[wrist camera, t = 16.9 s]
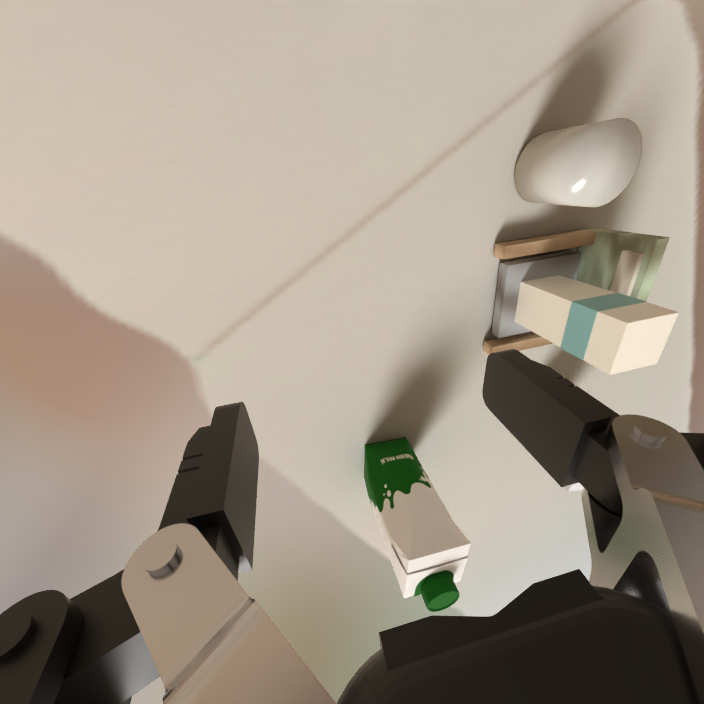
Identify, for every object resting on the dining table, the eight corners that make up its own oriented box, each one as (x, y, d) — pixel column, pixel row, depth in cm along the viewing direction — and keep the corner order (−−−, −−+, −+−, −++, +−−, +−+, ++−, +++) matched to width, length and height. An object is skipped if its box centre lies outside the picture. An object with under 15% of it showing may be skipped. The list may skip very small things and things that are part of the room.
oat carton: (520, 281, 40) (627, 322, 28) (559, 274, 41) (679, 311, 29) (513, 321, 43) (608, 375, 31) (550, 314, 43) (657, 363, 31)
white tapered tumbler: (517, 136, 33) (581, 125, 27) (575, 126, 34) (652, 112, 27) (511, 208, 37) (566, 213, 30) (564, 196, 38) (629, 199, 31)
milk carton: (358, 481, 53) (405, 623, 36) (359, 440, 48) (412, 579, 31) (407, 471, 55) (474, 601, 37) (411, 431, 50) (489, 557, 33)
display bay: (495, 243, 39) (550, 258, 31) (593, 227, 40) (669, 237, 33) (483, 350, 46) (525, 383, 38) (567, 332, 48) (624, 360, 40)
